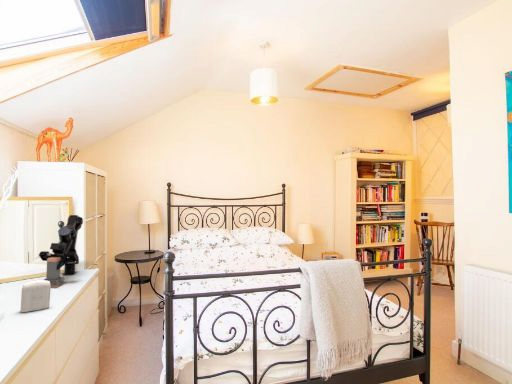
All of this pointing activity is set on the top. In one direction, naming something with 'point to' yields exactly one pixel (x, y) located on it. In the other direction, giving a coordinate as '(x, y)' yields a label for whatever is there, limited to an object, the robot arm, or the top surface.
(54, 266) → the connector
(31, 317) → the top surface
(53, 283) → the holder
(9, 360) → the top surface
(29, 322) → the top surface
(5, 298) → the top surface
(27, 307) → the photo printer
